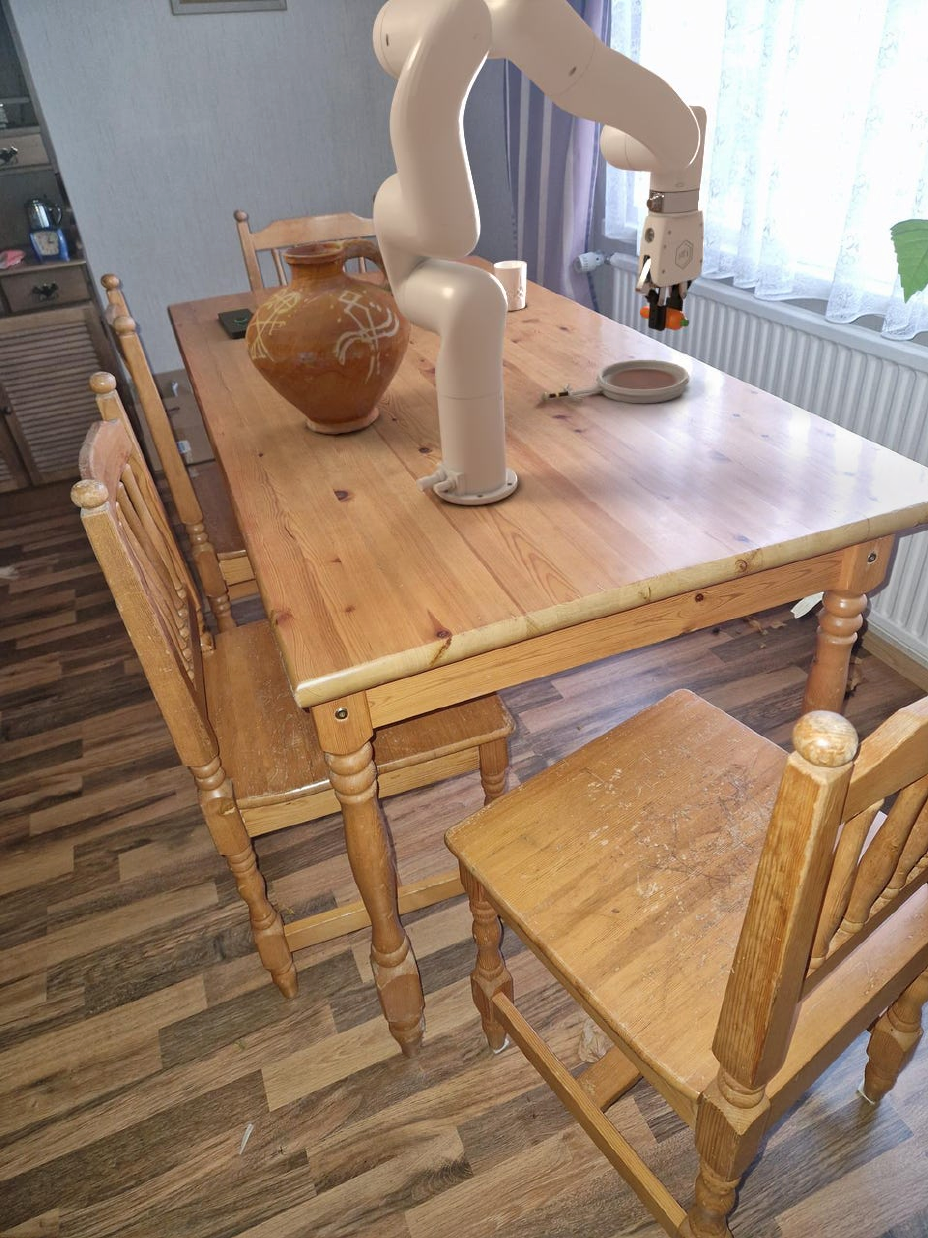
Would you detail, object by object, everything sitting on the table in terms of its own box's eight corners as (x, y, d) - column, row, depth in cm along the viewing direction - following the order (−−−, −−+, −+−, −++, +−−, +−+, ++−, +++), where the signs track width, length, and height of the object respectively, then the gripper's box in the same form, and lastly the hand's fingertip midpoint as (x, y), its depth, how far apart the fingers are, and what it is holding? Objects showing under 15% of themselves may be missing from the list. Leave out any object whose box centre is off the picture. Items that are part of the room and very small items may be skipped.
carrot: (692, 330, 130) (694, 311, 128) (679, 334, 128) (681, 315, 126) (647, 318, 136) (648, 299, 135) (634, 322, 135) (635, 303, 133)
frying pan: (529, 374, 155) (668, 352, 158) (529, 389, 156) (667, 367, 159) (554, 406, 141) (706, 381, 144) (554, 421, 143) (704, 397, 146)
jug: (253, 410, 155) (215, 241, 138) (394, 383, 162) (374, 219, 145) (281, 467, 134) (239, 275, 116) (441, 432, 141) (425, 247, 123)
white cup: (491, 311, 199) (489, 268, 193) (500, 302, 205) (498, 260, 199) (523, 311, 197) (522, 268, 191) (530, 302, 203) (529, 260, 197)
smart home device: (230, 332, 193) (216, 312, 208) (232, 339, 194) (218, 319, 209) (264, 325, 196) (248, 307, 211) (266, 333, 197) (249, 314, 212)
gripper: (653, 213, 115) (645, 343, 126) (730, 195, 122) (716, 319, 133) (616, 207, 120) (611, 333, 131) (692, 190, 127) (682, 311, 138)
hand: (664, 325), depth 132 cm, fingers closed on carrot, 3 cm apart
